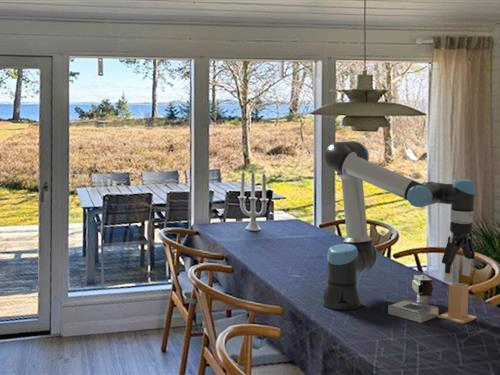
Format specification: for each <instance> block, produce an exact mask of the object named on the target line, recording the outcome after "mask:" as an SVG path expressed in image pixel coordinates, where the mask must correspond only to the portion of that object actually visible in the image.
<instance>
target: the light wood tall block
mask: <svg viewBox="0 0 500 375" xmlns="http://www.w3.org/2000/svg"><path fill="white" fill-rule="evenodd" d="M469 289H470V288H469V284H467V283H461V282H457V281H455V282H452V283H449V285H448V308H447V309H448V310H447V312H448V316H449V317H453V318H457V319H463V318H465V317H467V314H468V305H469Z"/></svg>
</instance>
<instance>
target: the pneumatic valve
mask: <svg viewBox="0 0 500 375" xmlns="http://www.w3.org/2000/svg"><path fill="white" fill-rule="evenodd" d="M411 288H412V290H413V291H414V292H415V293H417V294H416V302H420V303H424V304H428V299H429V298H428V297H432V296H433V291H434V287H433V279H431V278H430V277H428V276H427V275H426V274H413V279H411Z"/></svg>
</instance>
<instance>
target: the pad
mask: <svg viewBox="0 0 500 375" xmlns="http://www.w3.org/2000/svg"><path fill="white" fill-rule="evenodd" d="M437 318H439V319H441V320H442V319H443V320H446V321H449V322H454V323H457V324H462V325H465V324H467V323H469V322H471V321H473V320H476V319H477V318H478V317H477V316H475V315H472V314H468V313H467V317H465V318H463V319H457V318H453V317H449V316H448V311H446V312H444V313H442V314H438V316H437Z"/></svg>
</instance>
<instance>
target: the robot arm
mask: <svg viewBox="0 0 500 375" xmlns="http://www.w3.org/2000/svg"><path fill="white" fill-rule="evenodd" d="M323 156H324V157H323V158H324V163H325V164H326V166H327V167H328V168H329V169H331V170H332V171H334V172H336V174H337V177H338V178H340V181H341V187H342V188H341V189H342V199H343V201H342V203H343V211H344V220H345V233H346V237H345V238H344V240H343V243H340V244H338V243H337V244H334V245H332V246H330V247H329V249H328V250H327V256H326V260H327V262H326V263H327V264H326V265H327V274H326V275H327V279H326V280H327V281H326V282H327V283H326V288H325V289H324V293H323V296H322V299H321V300H322V301H321V302H322V305H323V306H324V307H326V308H328V309H332V310H337V311H338V310H340V311H350V310H356V309H359V308H360V307H361V306H362V305H361V304H362V300H361V296H360V293H359V289H358V286H357V285H358V275H359V274H361V273H365V272H368V271H369V270H371V269H373V268H374V267H375V265H376V264H377V262H378V259H379V253H378V248H377V247H376V246H375V245H374V244H373V238H371V236H369V234H368V226H367V224H368V223H367V214H366V203H365V192H364V182H366V183H367V184H370V185H372V186H375V187H377V188H378V189H380V190H381V189H382V190H384V191H385V192H386V191H387V192H388V193H390V194H393V195H395V196H397V197H399V198H402V199H403V200H405V201H407V202H408V203H409V204H410V205H411V206H413V207H414V208H415V207H416V208H425V207H427V206H430V205H434V204H443V205H451V208H450V209H451V210H450V225H449V231H450V232H451V233H453V234H452V236H450V235H448V237H447V243H446V246H445V250H444V252H443V255H442V259H441V263H442V264H444V277H443V281H444V282H446V283H447V282H448V283H449V284H452V283H453V273H454V264H453V263H454V261H455V258H456V256H457V254H458V251H459V250H461V251H462V253H463V256H464V257H463V260H462V274H461V275H462V276H465V277H470V276H471V270H472V260H474V259H475V249H474V241H473V233H472V232H473V223H472V222H473V221H474V219H473V217H474V206H475V205H474V204H475V196H476V191H475V189H476V188H475V187H476V183H475V181H474V180H471V179H465V178H455V179H454V180H453V181H452V182H453V183H443V182H434V181H424V182H422V183H421V182H419V181H416V180H414V179H412V178H410V177H407V176H405V175H403V174H400V173H398V172H395V171H393V170H390V169H389V168H385V167H384V166H381V165H378V164H376V163H374V162H371V161H369V159H370V155H369V150H368V148H367V147H366V146H365V145H364V144H362V143H361V142H359V141H354V140H353V141H352V140H350V141H336V142H333V143H330V145H328V146H327V148H326V150H324V155H323ZM363 181H364V182H363Z"/></svg>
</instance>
